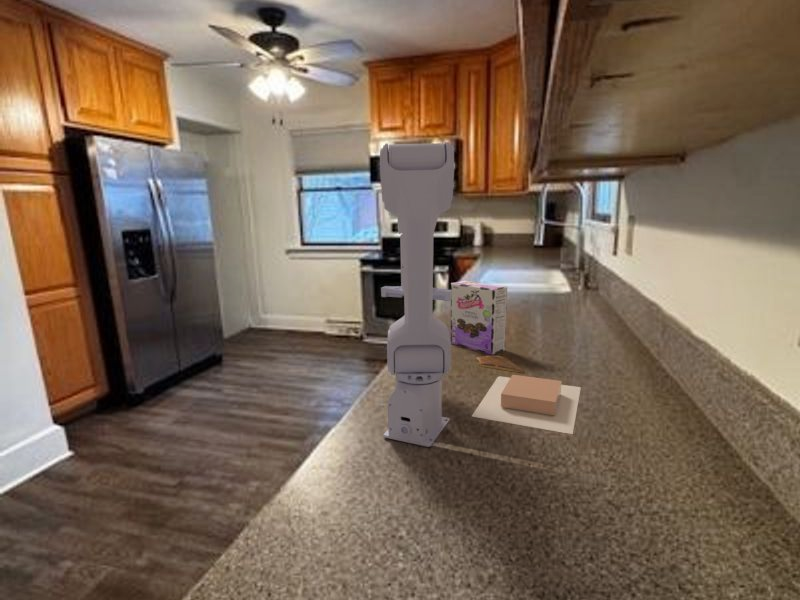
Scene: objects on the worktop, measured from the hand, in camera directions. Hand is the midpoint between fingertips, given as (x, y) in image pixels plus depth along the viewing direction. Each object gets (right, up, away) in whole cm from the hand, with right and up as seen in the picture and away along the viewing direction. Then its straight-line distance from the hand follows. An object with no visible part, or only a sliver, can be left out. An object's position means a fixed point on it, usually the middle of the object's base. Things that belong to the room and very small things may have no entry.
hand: (416, 333), depth 91 cm
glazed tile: (+16, -10, -8) cm, 21 cm away
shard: (+20, -9, +11) cm, 24 cm away
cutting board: (+20, -12, -9) cm, 25 cm away
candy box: (+17, -6, +25) cm, 30 cm away
